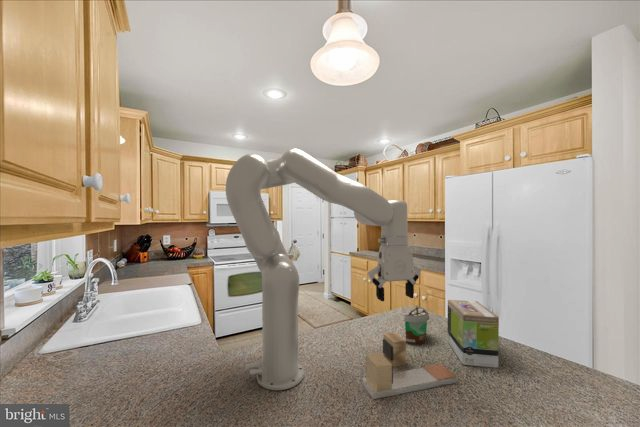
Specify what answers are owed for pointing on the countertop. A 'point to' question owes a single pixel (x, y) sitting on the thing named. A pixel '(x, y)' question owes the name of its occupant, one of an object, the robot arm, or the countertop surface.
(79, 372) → the countertop surface
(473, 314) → the tea box
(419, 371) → the rail
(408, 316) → the food container
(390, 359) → the block
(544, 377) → the countertop surface
